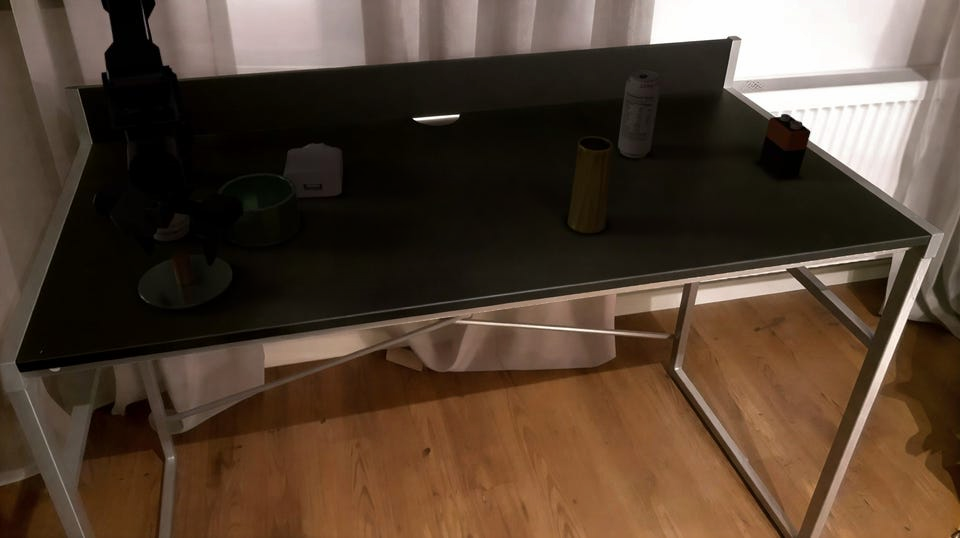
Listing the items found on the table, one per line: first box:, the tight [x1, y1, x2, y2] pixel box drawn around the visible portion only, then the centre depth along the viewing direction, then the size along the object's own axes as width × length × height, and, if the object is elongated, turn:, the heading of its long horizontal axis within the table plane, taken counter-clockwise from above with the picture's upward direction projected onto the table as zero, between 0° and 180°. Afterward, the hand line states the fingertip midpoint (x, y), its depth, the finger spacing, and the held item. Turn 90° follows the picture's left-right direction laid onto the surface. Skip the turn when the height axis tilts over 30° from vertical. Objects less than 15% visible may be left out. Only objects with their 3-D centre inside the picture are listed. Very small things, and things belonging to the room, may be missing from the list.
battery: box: [759, 113, 812, 180], centre depth 141 cm, size 4×7×10 cm, turn 14°
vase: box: [566, 135, 614, 234], centre depth 123 cm, size 6×6×14 cm
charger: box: [283, 142, 344, 198], centre depth 138 cm, size 5×9×15 cm
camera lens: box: [154, 213, 191, 242], centre depth 121 cm, size 6×6×8 cm
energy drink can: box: [617, 69, 661, 159], centre depth 145 cm, size 6×6×15 cm
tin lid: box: [137, 250, 234, 311], centre depth 111 cm, size 13×13×5 cm
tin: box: [217, 172, 301, 249], centre depth 123 cm, size 12×12×6 cm
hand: (180, 259), depth 109 cm, fingers open, 9 cm apart
